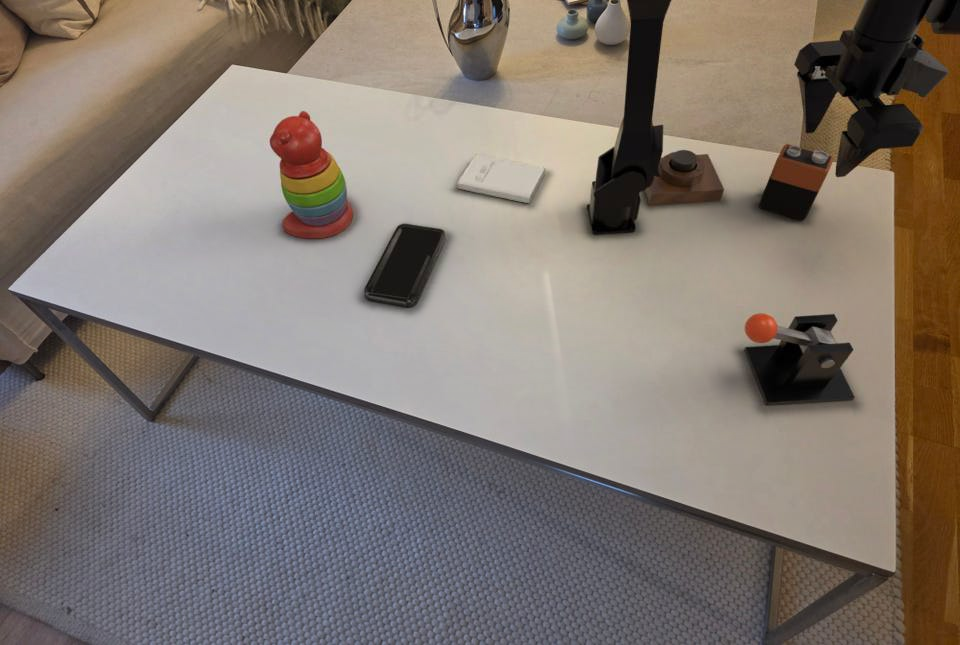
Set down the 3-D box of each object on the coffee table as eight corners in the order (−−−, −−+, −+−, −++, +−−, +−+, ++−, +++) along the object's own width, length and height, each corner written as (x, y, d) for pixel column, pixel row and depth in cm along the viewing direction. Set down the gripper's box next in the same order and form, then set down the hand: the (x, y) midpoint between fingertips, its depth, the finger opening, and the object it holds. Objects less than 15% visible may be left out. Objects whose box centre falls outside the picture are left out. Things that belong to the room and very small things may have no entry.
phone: (361, 294, 82) (399, 222, 91) (363, 299, 83) (400, 227, 92) (414, 303, 80) (447, 229, 89) (415, 308, 81) (448, 235, 90)
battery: (803, 222, 87) (831, 167, 79) (756, 208, 89) (778, 153, 82) (811, 205, 89) (838, 149, 81) (765, 192, 92) (787, 136, 84)
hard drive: (529, 205, 93) (457, 189, 97) (545, 174, 98) (476, 160, 101) (529, 197, 92) (457, 181, 95) (545, 166, 96) (476, 152, 100)
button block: (649, 205, 91) (653, 185, 88) (637, 169, 97) (641, 149, 94) (720, 200, 91) (727, 179, 88) (704, 165, 97) (710, 144, 93)
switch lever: (743, 345, 63) (764, 328, 60) (734, 322, 65) (754, 304, 62) (820, 364, 66) (844, 348, 64) (810, 341, 68) (832, 325, 66)
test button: (673, 174, 90) (675, 165, 89) (668, 160, 92) (670, 150, 91) (697, 172, 90) (699, 163, 89) (691, 158, 92) (693, 148, 91)
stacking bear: (320, 190, 99) (286, 92, 85) (369, 206, 95) (342, 107, 81) (278, 230, 93) (234, 133, 79) (328, 249, 90) (292, 151, 76)
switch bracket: (763, 408, 68) (790, 366, 62) (742, 352, 73) (764, 307, 67) (850, 402, 68) (887, 359, 61) (823, 347, 73) (854, 301, 66)
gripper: (1014, 68, 56) (926, 196, 69) (914, -15, 68) (854, 107, 80) (899, 77, 57) (831, 203, 69) (818, -7, 68) (772, 114, 80)
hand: (824, 153), depth 75 cm, fingers open, 9 cm apart
